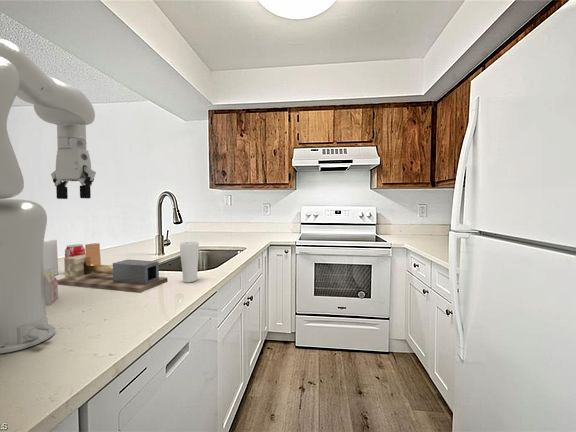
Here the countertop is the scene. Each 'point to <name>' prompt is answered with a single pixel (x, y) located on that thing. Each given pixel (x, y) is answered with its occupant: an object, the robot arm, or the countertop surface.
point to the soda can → (74, 250)
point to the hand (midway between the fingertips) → (73, 198)
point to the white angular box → (50, 287)
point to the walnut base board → (109, 283)
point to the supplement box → (50, 255)
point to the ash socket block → (77, 268)
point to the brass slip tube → (95, 260)
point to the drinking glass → (189, 260)
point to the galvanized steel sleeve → (136, 272)
